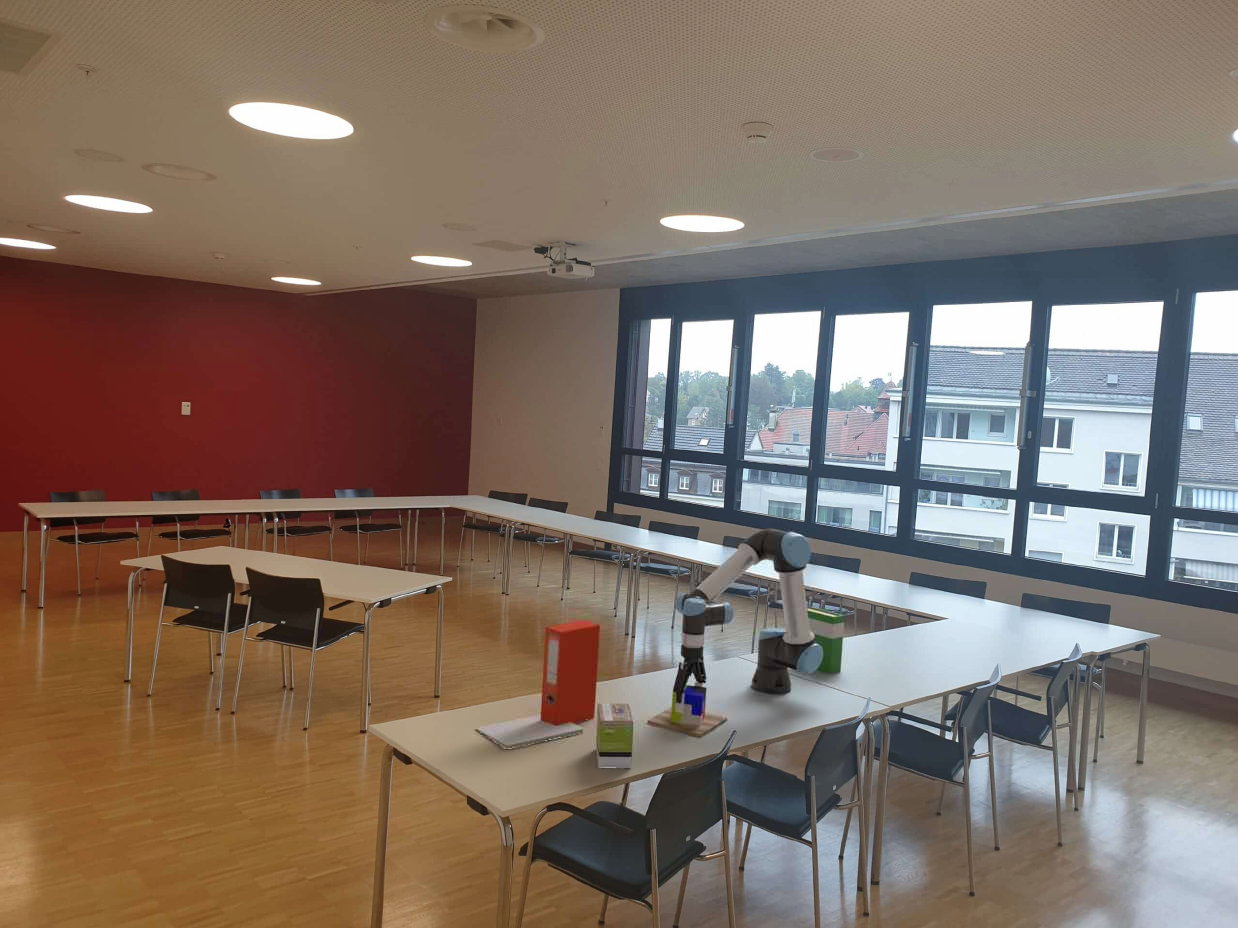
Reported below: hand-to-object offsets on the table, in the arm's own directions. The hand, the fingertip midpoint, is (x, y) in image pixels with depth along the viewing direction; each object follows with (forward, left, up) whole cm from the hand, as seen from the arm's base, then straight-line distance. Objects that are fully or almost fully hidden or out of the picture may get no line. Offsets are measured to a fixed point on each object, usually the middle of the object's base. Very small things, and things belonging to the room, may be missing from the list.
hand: (688, 706), depth 297 cm
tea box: (+43, -3, -6) cm, 43 cm away
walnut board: (0, 0, -5) cm, 5 cm away
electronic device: (+41, -36, -6) cm, 55 cm away
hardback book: (-95, +13, -6) cm, 96 cm away
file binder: (+25, -32, -5) cm, 41 cm away
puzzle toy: (0, 0, -4) cm, 4 cm away
